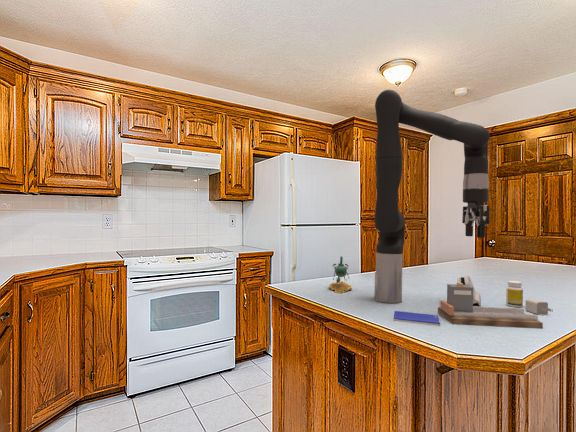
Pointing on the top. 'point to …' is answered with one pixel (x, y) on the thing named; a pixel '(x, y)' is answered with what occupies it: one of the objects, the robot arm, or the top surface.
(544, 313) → the usb wall charger
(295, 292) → the top surface
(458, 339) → the top surface
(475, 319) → the rail board
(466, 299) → the block
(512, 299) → the supplement bottle
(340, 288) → the frog figurine
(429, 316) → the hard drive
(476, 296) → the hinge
